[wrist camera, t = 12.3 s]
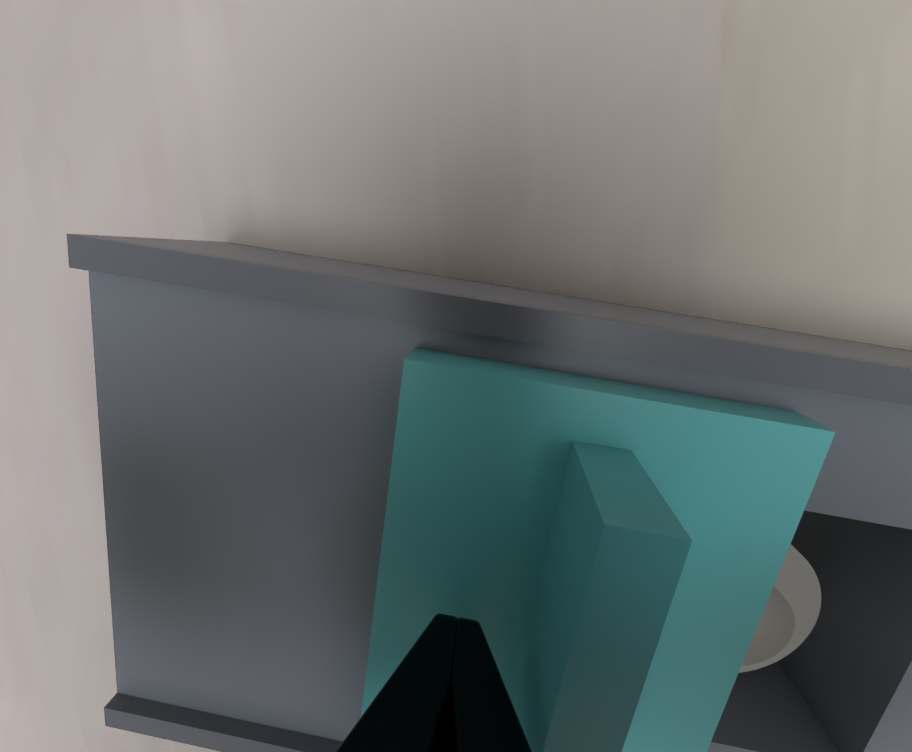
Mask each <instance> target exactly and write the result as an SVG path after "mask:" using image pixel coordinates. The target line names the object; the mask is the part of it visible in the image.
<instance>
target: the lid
mask: <svg viewBox="0 0 912 752" xmlns="http://www.w3.org/2000/svg"><path fill="white" fill-rule="evenodd" d="M835 433H836V432H835V431H833V430H831V429H829V428H827V427H825V426H823V425H821V424H819V423H817V422H816V421H814V420H812V419H810V418H808V417H806V416H804V415H802V414H800V413H798V412H796V411H791V410H785V409H779V408H773V407H767V406H761V405H755V404H749V403H743V402H737V401H731V400H725V399H720V398H714V397H708V396H702V395H696V394H690V393H684V392H678V391H672V390H666V389H660V388H654V387H648V386H642V385H636V384H630V383H624V382H618V381H612V380H606V379H600V378H594V377H588V376H582V375H576V374H570V373H564V372H558V371H552V370H546V369H540V368H534V367H528V366H522V365H516V364H510V363H504V362H498V361H492V360H486V359H480V358H474V357H468V356H462V355H456V354H450V353H445V352H439V351H433V350H427V349H421V348H414V349H413V350H412V351H411V352H410V353H409V355H408V356H407V357H406V358H405V359H404V364H403V372H402V381H401V389H400V397H399V405H398V414H397V422H396V430H395V438H394V447H393V455H392V463H391V471H390V480H389V488H388V496H387V504H386V513H385V521H384V529H383V537H382V545H381V554H380V562H379V570H378V578H377V587H376V595H375V603H374V611H373V620H372V628H371V636H370V644H369V653H368V661H367V669H366V677H365V686H364V694H363V702H362V710H361V716H362V715H363V714H364V712H365V711H366V709H367V708H368V707H369V705H370V704H371V703H372V701H373V700H374V698H375V697H376V696H377V694H378V693H379V692H380V690H381V689H382V687H383V686H384V685H385V683H386V682H387V681H388V679H389V678H390V676H391V675H392V674H393V672H394V671H395V670H396V668H397V667H398V665H399V664H400V663H401V661H402V660H403V659H404V657H405V656H406V654H407V653H408V652H409V650H410V649H411V648H412V646H413V645H414V643H415V642H416V641H417V639H418V638H419V637H420V635H421V634H422V633H423V631H424V630H425V628H426V627H427V626H428V624H429V623H430V622H431V620H432V619H433V617H434V616H435V615H436V614H438V613H441V614H446V615H451V616H455V617H457V618H459V617H462V618H467V619H472V620H476V621H478V622H479V623H480V625H481V628H482V630H483V633H484V635H485V637H486V640H487V642H488V645H489V647H490V650H491V652H492V655H493V657H494V660H495V662H496V665H497V667H498V670H499V672H500V674H501V677H502V679H503V682H504V684H505V687H506V689H507V692H508V694H509V697H510V699H511V702H512V704H513V707H514V709H515V712H516V714H517V716H518V719H519V721H520V724H521V726H522V729H523V731H524V734H525V736H526V739H527V741H528V744H529V746H530V749H531V751H532V752H707V750H708V748H709V745H710V743H711V740H712V738H713V735H714V733H715V730H716V728H717V725H718V723H719V720H720V718H721V715H722V713H723V710H724V708H725V705H726V703H727V700H728V698H729V696H730V693H731V691H732V688H733V686H734V683H735V681H736V678H737V676H738V673H739V671H740V668H741V666H742V663H743V661H744V658H745V656H746V653H747V651H748V648H749V646H750V643H751V641H752V638H753V636H754V634H755V631H756V629H757V626H758V624H759V621H760V619H761V616H762V614H763V611H764V609H765V606H766V604H767V601H768V599H769V596H770V594H771V591H772V589H773V586H774V584H775V581H776V579H777V576H778V574H779V572H780V569H781V567H782V564H783V562H784V559H785V557H786V554H787V552H788V549H789V547H790V544H791V542H792V539H793V537H794V534H795V532H796V529H797V527H798V524H799V522H800V519H801V517H802V514H803V512H804V510H805V507H806V505H807V502H808V500H809V497H810V495H811V492H812V490H813V487H814V485H815V482H816V480H817V477H818V475H819V472H820V470H821V467H822V465H823V462H824V460H825V457H826V455H827V452H828V450H829V448H830V445H831V443H832V440H833V438H834V435H835Z"/></svg>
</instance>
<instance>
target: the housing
mask: <svg viewBox="0 0 912 752" xmlns="http://www.w3.org/2000/svg"><path fill="white" fill-rule="evenodd" d="M67 243H68V256H69V267H71V268H77V269H83V270H89V284H90V299H91V314H92V328H93V343H94V358H95V372H96V387H97V402H98V417H99V431H100V446H101V461H102V475H103V490H104V505H105V520H106V534H107V549H108V564H109V579H110V593H111V608H112V623H113V637H114V652H115V667H116V682H117V694H116V695H115V696H114V697H113V698H112V699H111V701H110V702H109V703H108V704H107V705H106V706H105V707H104V712H105V725H106V726H109V727H113V728H118V729H122V730H127V731H131V732H136V733H140V734H145V735H149V736H154V737H159V738H163V739H168V740H172V741H177V742H181V743H186V744H190V745H195V746H199V747H204V748H208V749H213V750H217V751H222V752H336V751H337V749H338V748H339V746H340V745H341V744H342V742H343V741H344V740H345V738H346V737H347V735H348V734H349V733H350V731H351V730H352V729H353V727H354V726H355V724H356V723H357V722H358V720H359V719H360V718H361V710H362V702H363V694H364V686H365V677H366V669H367V661H368V653H369V644H370V636H371V628H372V620H373V611H374V603H375V595H376V587H377V578H378V570H379V562H380V554H381V545H382V537H383V529H384V521H385V513H386V504H387V496H388V488H389V480H390V471H391V463H392V455H393V447H394V438H395V430H396V422H397V414H398V405H399V397H400V389H401V381H402V372H403V364H404V359H405V358H406V357H407V356H408V355H409V353H410V352H411V351H412V350H413V349H414V348H421V349H427V350H433V351H439V352H445V353H450V354H456V355H462V356H468V357H474V358H480V359H486V360H492V361H498V362H504V363H510V364H516V365H522V366H528V367H534V368H540V369H546V370H552V371H558V372H564V373H570V374H576V375H582V376H588V377H594V378H600V379H606V380H612V381H618V382H624V383H630V384H636V385H642V386H648V387H654V388H660V389H666V390H672V391H678V392H684V393H690V394H696V395H702V396H708V397H714V398H720V399H725V400H731V401H737V402H743V403H749V404H755V405H761V406H767V407H773V408H779V409H785V410H791V411H796V412H798V413H800V414H802V415H804V416H806V417H808V418H810V419H812V420H814V421H816V422H817V423H819V424H821V425H823V426H825V427H827V428H829V429H831V430H833V431H835V432H836V433H835V435H834V438H833V440H832V443H831V445H830V448H829V450H828V452H827V455H826V457H825V460H824V462H823V465H822V467H821V470H820V472H819V475H818V477H817V480H816V482H815V485H814V487H813V490H812V492H811V495H810V497H809V500H808V502H807V505H806V507H805V510H804V512H803V514H802V517H801V519H800V522H799V524H798V527H797V529H796V532H795V534H794V537H793V539H792V542H791V545H792V546H793V547H794V548H795V549H796V550H797V551H798V552H799V553H800V554H801V555H802V556H803V557H804V558H805V559H806V560H807V561H808V562H809V564H810V565H811V566H812V568H813V569H814V571H815V573H816V576H817V578H818V581H819V584H820V588H821V608H820V612H819V616H818V619H817V621H816V624H815V626H814V627H813V629H812V631H811V632H810V634H809V635H808V637H807V638H806V639H805V640H804V641H803V643H802V644H800V645H799V646H798V647H797V648H796V649H795V650H794V651H793V652H791V653H790V654H789V655H787V656H786V657H784V658H782V659H780V660H779V661H777V662H775V663H773V664H770V665H768V666H766V667H762V668H759V669H756V670H752V671H748V672H742V673H738V676H737V678H736V681H735V683H734V686H733V688H732V691H731V693H730V696H729V698H728V700H727V703H726V705H725V708H724V710H723V713H722V715H721V718H720V720H719V723H718V725H717V728H716V730H715V733H714V735H713V738H712V740H711V743H710V745H709V748H708V750H707V752H912V351H909V350H903V349H897V348H890V347H884V346H878V345H871V344H865V343H859V342H853V341H846V340H840V339H834V338H827V337H821V336H815V335H808V334H802V333H796V332H789V331H783V330H777V329H770V328H764V327H758V326H751V325H745V324H739V323H732V322H726V321H720V320H713V319H707V318H701V317H694V316H688V315H682V314H675V313H669V312H663V311H656V310H650V309H644V308H637V307H631V306H625V305H619V304H612V303H606V302H600V301H593V300H587V299H581V298H574V297H568V296H562V295H555V294H549V293H543V292H536V291H530V290H524V289H517V288H511V287H505V286H498V285H492V284H486V283H479V282H473V281H467V280H460V279H454V278H448V277H441V276H435V275H429V274H422V273H416V272H410V271H404V270H397V269H391V268H385V267H378V266H372V265H366V264H359V263H353V262H347V261H340V260H334V259H328V258H321V257H315V256H309V255H302V254H296V253H290V252H283V251H277V250H271V249H264V248H258V247H252V246H245V245H239V244H233V243H226V242H211V241H192V240H173V239H154V238H136V237H117V236H98V235H79V234H67Z"/></svg>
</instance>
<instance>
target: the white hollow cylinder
mask: <svg viewBox="0 0 912 752" xmlns="http://www.w3.org/2000/svg"><path fill="white" fill-rule="evenodd" d="M820 608H821V588H820V584H819V581H818V578H817V576H816V573H815V571H814V569H813V568H812V566H811V565H810V564H809V562H808V561H807V560H806V559H805V558H804V557H803V556H802V555H801V554H800V553H799V552H798V551H797V550H796V549H795V548H794V547H793V546H792V545H791V544H790V547H789V549H788V552H787V554H786V557H785V559H784V562H783V564H782V567H781V569H780V572H779V574H778V576H777V579H776V581H775V584H774V586H773V589H772V591H771V594H770V596H769V599H768V601H767V604H766V606H765V609H764V611H763V614H762V616H761V619H760V621H759V624H758V626H757V629H756V631H755V634H754V636H753V638H752V641H751V643H750V646H749V648H748V651H747V653H746V656H745V658H744V661H743V663H742V666H741V668H740V671H739V673H742V672H748V671H752V670H756V669H759V668H762V667H766V666H768V665H770V664H773V663H775V662H777V661H779V660H780V659H782V658H784V657H786V656H787V655H789V654H790V653H791V652H793V651H794V650H795V649H796V648H797V647H798V646H799V645H800V644H802V643H803V641H804V640H805V639H806V638H807V637H808V635H809V634H810V632H811V631H812V629H813V627H814V626H815V624H816V621H817V619H818V616H819V612H820Z"/></svg>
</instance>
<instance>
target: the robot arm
mask: <svg viewBox="0 0 912 752" xmlns="http://www.w3.org/2000/svg"><path fill="white" fill-rule="evenodd" d="M336 752H532V751H531V749H530V746H529V744H528V741H527V739H526V736H525V734H524V731H523V729H522V726H521V724H520V721H519V719H518V716H517V714H516V712H515V709H514V707H513V704H512V702H511V699H510V697H509V694H508V692H507V689H506V687H505V684H504V682H503V679H502V677H501V674H500V672H499V670H498V667H497V665H496V662H495V660H494V657H493V655H492V652H491V650H490V647H489V645H488V642H487V640H486V637H485V635H484V633H483V630H482V628H481V625H480V623H479V622H478V621H476V620H472V619H467V618H462V617H459V618H457V617H455V616H451V615H446V614H441V613H438V614H436V615H435V616H434V617H433V619H432V620H431V622H430V623H429V624H428V626H427V627H426V628H425V630H424V631H423V633H422V634H421V635H420V637H419V638H418V639H417V641H416V642H415V643H414V645H413V646H412V648H411V649H410V650H409V652H408V653H407V654H406V656H405V657H404V659H403V660H402V661H401V663H400V664H399V665H398V667H397V668H396V670H395V671H394V672H393V674H392V675H391V676H390V678H389V679H388V681H387V682H386V683H385V685H384V686H383V687H382V689H381V690H380V692H379V693H378V694H377V696H376V697H375V698H374V700H373V701H372V703H371V704H370V705H369V707H368V708H367V709H366V711H365V712H364V714H363V715H362V716H361V718H360V719H359V720H358V722H357V723H356V724H355V726H354V727H353V729H352V730H351V731H350V733H349V734H348V735H347V737H346V738H345V740H344V741H343V742H342V744H341V745H340V746H339V748H338V749H337V751H336Z"/></svg>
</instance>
